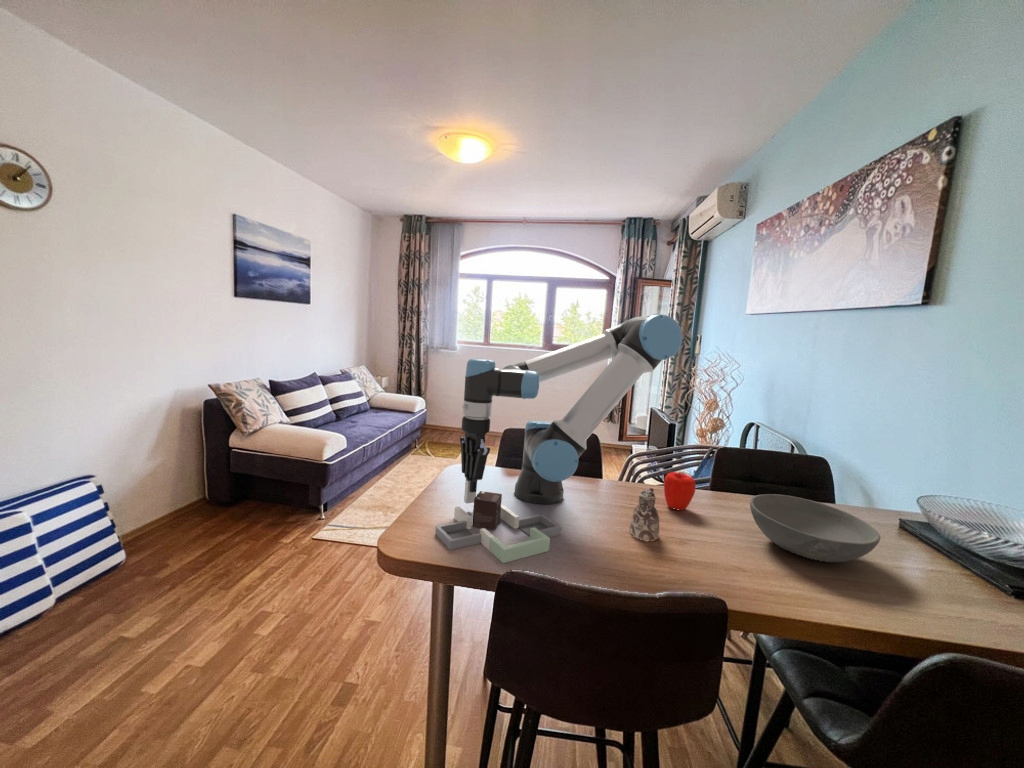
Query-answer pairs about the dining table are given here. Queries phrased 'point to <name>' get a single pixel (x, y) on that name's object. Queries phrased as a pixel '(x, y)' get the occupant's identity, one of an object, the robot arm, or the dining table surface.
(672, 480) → the apple
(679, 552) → the dining table surface
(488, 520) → the box
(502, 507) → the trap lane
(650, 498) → the figurine
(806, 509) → the bowl
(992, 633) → the dining table surface
